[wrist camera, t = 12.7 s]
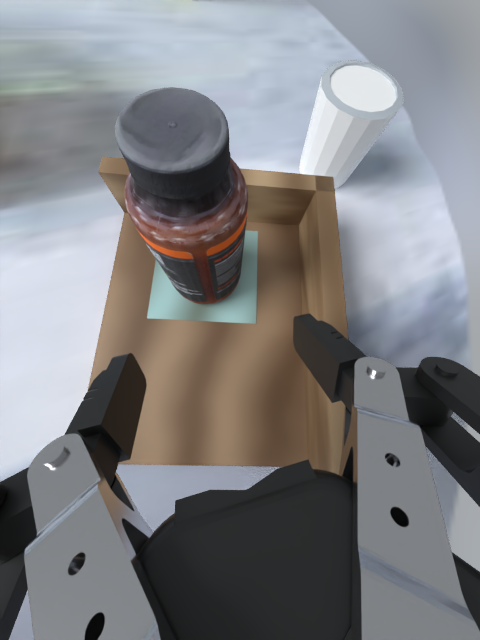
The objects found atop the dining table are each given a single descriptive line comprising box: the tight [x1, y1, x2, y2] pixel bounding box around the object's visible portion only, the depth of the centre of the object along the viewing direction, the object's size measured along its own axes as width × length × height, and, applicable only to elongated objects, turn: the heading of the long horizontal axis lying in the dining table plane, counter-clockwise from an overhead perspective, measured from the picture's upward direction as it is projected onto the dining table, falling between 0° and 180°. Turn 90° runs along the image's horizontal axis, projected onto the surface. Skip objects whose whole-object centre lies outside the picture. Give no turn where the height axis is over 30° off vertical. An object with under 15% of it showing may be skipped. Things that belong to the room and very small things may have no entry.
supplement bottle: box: [115, 87, 248, 304], centre depth 13 cm, size 6×6×11 cm
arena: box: [88, 157, 348, 475], centre depth 16 cm, size 18×22×5 cm
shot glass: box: [299, 60, 403, 189], centre depth 20 cm, size 7×7×7 cm
